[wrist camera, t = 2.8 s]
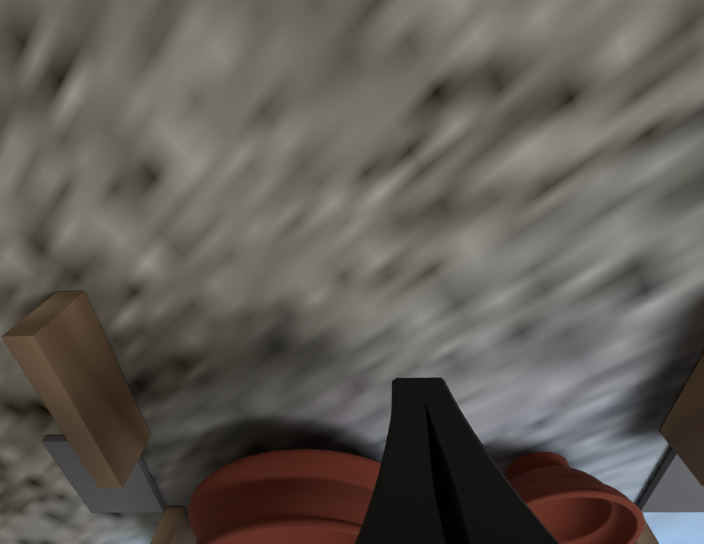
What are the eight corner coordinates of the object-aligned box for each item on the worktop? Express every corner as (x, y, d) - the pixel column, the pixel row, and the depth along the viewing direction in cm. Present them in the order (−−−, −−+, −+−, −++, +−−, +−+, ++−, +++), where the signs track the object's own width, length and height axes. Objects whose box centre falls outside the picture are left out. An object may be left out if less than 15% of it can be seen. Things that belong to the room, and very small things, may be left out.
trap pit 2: (776, 430, 17) (782, 436, 17) (715, 506, 20) (720, 512, 20) (682, 431, 17) (687, 437, 17) (636, 506, 20) (640, 512, 20)
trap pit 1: (130, 435, 18) (126, 441, 18) (166, 506, 21) (163, 512, 21) (46, 435, 18) (41, 441, 18) (94, 506, 21) (91, 512, 21)
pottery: (166, 422, 18) (113, 525, 14) (626, 375, 16) (711, 480, 12) (244, 549, 23) (222, 645, 20) (587, 526, 21) (635, 628, 18)
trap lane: (776, 276, 13) (880, 333, 10) (566, 621, 28) (587, 681, 25) (57, 291, 14) (-13, 347, 11) (222, 618, 28) (209, 676, 26)
